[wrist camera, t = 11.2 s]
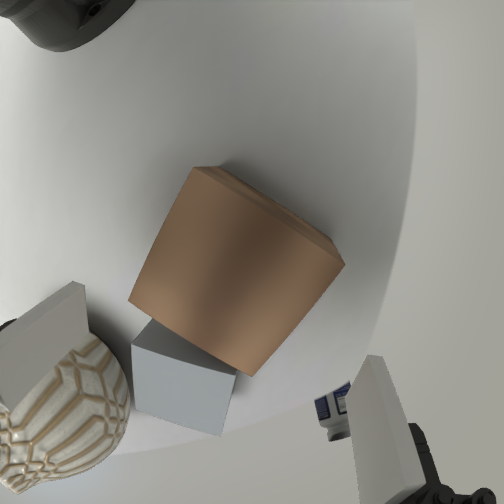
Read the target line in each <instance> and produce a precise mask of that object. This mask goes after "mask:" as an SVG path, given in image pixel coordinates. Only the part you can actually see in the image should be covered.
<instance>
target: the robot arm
mask: <svg viewBox="0 0 504 504" xmlns="http://www.w3.org/2000/svg"><path fill="white" fill-rule="evenodd" d="M134 1H135V0H0V16H2V17H5V18H8V19H10V20H11V21H12V22H13V23H14V24H15V25H16V26H17V27H18V28H19V29H20V30H21V31H22V32H23V33H24V34H25V35H26V36H27V37H28V38H29V39H30V40H31V41H32V42H33V43H34V44H35V45H37V46H39V47H41V48H44V49H47V50H50V51H54V52H63V51H68V50H71V49H74V48H77V47H79V46H81V45H83V44H85V43H87V42H88V41H90V40H92V39H93V38H95V37H96V36H98V35H99V34H100V33H102V32H103V31H104V30H106V29H107V28H108V27H109V26H110V25H112V24H113V23H114V22H115V21H116V20H117V19H118V18H119V17H120V16H121V15H122V14H123V13H124V12H125V11H126V10H127V9H128V8H129V7H130V6H131V5H132V3H133V2H134ZM88 333H89V328H88V319H87V309H86V298H85V285H83V284H80V283H77V282H74V281H72V282H71V283H69V284H68V285H66V286H65V287H63V288H61V289H60V290H58V291H57V292H55V293H54V294H52V295H51V296H50V297H48V298H47V299H45V300H44V301H42V302H41V303H39V304H38V305H36V306H35V307H34V308H32V309H31V310H29V311H28V312H26V313H25V314H24V315H22V316H21V317H19V318H18V319H13V320H10V321H8V322H6V323H4V324H3V325H1V326H0V405H1V406H2V407H4V408H5V409H6V410H7V411H8V412H10V413H11V412H12V411H13V410H14V408H15V407H16V406H17V405H18V404H19V403H20V402H21V401H22V400H23V399H24V398H25V397H26V395H27V394H28V393H29V392H30V391H31V390H32V389H33V388H34V387H35V386H36V385H37V384H38V383H39V382H40V381H41V380H42V379H43V378H44V377H45V376H46V374H47V373H48V372H49V371H50V370H51V369H52V368H53V367H54V366H55V365H56V364H57V363H58V362H59V361H60V360H61V359H62V358H63V357H64V356H65V355H66V354H67V353H68V352H69V351H70V350H71V349H72V348H73V347H74V346H75V345H76V344H77V343H78V342H80V341H81V340H82V339H83V338H84V337H85V336H86V335H87V334H88ZM345 402H346V407H347V413H348V419H349V425H350V431H351V438H352V444H353V451H354V458H355V466H356V473H357V481H358V490H359V499H360V504H496V497H495V495H494V493H493V492H492V491H491V490H490V489H488V488H480V489H478V490H477V491H475V492H474V493H473V494H472V495H460V494H455V493H454V491H453V490H452V489H451V488H450V487H449V486H447V485H443V484H441V482H440V480H439V477H438V473H437V471H436V467H435V464H434V461H433V458H432V455H431V453H430V449H429V446H428V445H427V441H426V438H425V435H424V433H423V431H422V430H421V429H420V427H419V426H418V425H417V424H416V423H407V420H406V417H405V414H404V411H403V408H402V406H401V403H400V400H399V397H398V395H397V392H396V389H395V387H394V384H393V382H392V379H391V377H390V374H389V371H388V369H387V366H386V364H385V362H384V359H383V357H381V356H374V355H367V357H366V359H365V361H364V363H363V365H362V367H361V369H360V371H359V373H358V375H357V377H356V378H355V380H354V382H353V384H352V386H351V388H350V389H349V391H348V393H347V395H346V397H345Z"/></svg>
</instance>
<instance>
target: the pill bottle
mask: <svg viewBox="0 0 504 504" xmlns="http://www.w3.org/2000/svg"><path fill="white" fill-rule="evenodd" d="M350 388H351V384H350V380H349V381H348V382H347V383H345V384H344V385H343V386H341V387H340V388H338V389H336V390H334V391H332V392H330V393H328V394H326V395H324V396H322V397H320V398H318V399H315V400H314V403H315V407H316V411H317V415H318V420H319V423H320V426H321V427H324V428H327V429H328V432H327V436H328V441H329V442H332V441H337V440H341V439H344V438H347V437H350V436H351V431H350V425H349V419H348V413H347V407H346V402H345V397H346V395H347V393H348V391H349V389H350Z"/></svg>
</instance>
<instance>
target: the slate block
mask: <svg viewBox="0 0 504 504" xmlns="http://www.w3.org/2000/svg"><path fill="white" fill-rule="evenodd" d="M131 355H132V372H133V386H134V397H135V407H136V410H138V411H141V412H144V413H146V414H149V415H152V416H154V417H157V418H160V419H163V420H166V421H169V422H172V423H175V424H178V425H181V426H184V427H188V428H191V429H195V430H198V431H202V432H205V433H209V434H213V435H217V436H221V433H222V429H223V426H224V422H225V418H226V414H227V410H228V407H229V403H230V399H231V395H232V391H233V387H234V383H235V379H236V375H237V371H238V369H236V368H234V367H232V366H231V365H229V364H227V363H225V362H223V361H222V360H220V359H218V358H216V357H215V356H213V355H211V354H209V353H208V352H206V351H204V350H203V349H201V348H199V347H198V346H196V345H194V344H193V343H191V342H189V341H188V340H186V339H185V338H183V337H181V336H180V335H178V334H177V333H175V332H173V331H172V330H170V329H169V328H167V327H166V326H164V325H163V324H161V323H160V322H158V321H156V320H155V319H153V318H152V320H151V321H150V322H149V323H148V324H147V325H146V327H145V328H144V329H143V330H142V332H141V333H140V334H139V335H138V336H137V338H136V339H135V340H134V341H133V342H132V344H131Z"/></svg>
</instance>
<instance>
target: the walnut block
mask: <svg viewBox="0 0 504 504" xmlns="http://www.w3.org/2000/svg"><path fill="white" fill-rule="evenodd" d="M344 266H345V263H344V261H343V260H342V258H341V256H340V254H339V252H338V251H337V249H336V247H335V245H334V243H333V242H332V240H331V239H330V238H329V237H327V236H326V235H324V234H323V233H321V232H320V231H318V230H317V229H315V228H314V227H312V226H311V225H309V224H308V223H306V222H305V221H303V220H302V219H300V218H299V217H297V216H296V215H294V214H293V213H291V212H290V211H288V210H287V209H285V208H284V207H282V206H281V205H279V204H278V203H276V202H274V201H273V200H271V199H270V198H268V197H267V196H265V195H264V194H262V193H260V192H259V191H257V190H256V189H254V188H252V187H251V186H249V185H248V184H246V183H244V182H243V181H241V180H240V179H238V178H236V177H235V176H233V175H231V174H230V173H228V172H226V171H225V170H223V169H221V168H220V167H218V166H213V167H193V169H192V171H191V172H190V174H189V176H188V178H187V180H186V181H185V183H184V185H183V187H182V189H181V191H180V192H179V194H178V196H177V198H176V200H175V202H174V204H173V206H172V208H171V209H170V211H169V213H168V215H167V217H166V219H165V221H164V223H163V225H162V227H161V229H160V231H159V233H158V235H157V237H156V239H155V241H154V244H153V246H152V248H151V250H150V252H149V254H148V256H147V258H146V260H145V263H144V265H143V267H142V269H141V271H140V274H139V276H138V278H137V280H136V283H135V285H134V287H133V290H132V292H131V294H130V297H129V299H128V301H129V302H130V303H132V304H133V305H135V306H136V307H137V308H139V309H140V310H142V311H143V312H145V313H146V314H148V315H149V316H151V317H152V318H153V319H155V320H156V321H158V322H160V323H161V324H163V325H164V326H166V327H167V328H169V329H170V330H172V331H173V332H175V333H177V334H178V335H180V336H181V337H183V338H185V339H186V340H188V341H189V342H191V343H193V344H194V345H196V346H198V347H199V348H201V349H203V350H204V351H206V352H208V353H209V354H211V355H213V356H215V357H216V358H218V359H220V360H222V361H223V362H225V363H227V364H229V365H231V366H232V367H234V368H236V369H238V370H240V371H242V372H243V373H245V374H247V375H249V376H251V377H252V376H253V375H254V374H255V373H256V372H257V371H258V370H259V369H260V368H261V367H262V365H263V364H264V363H265V362H266V361H267V360H268V359H269V358H270V356H271V355H272V354H273V353H274V352H275V351H276V350H277V349H278V347H279V346H280V345H281V344H282V343H283V342H284V340H285V339H286V338H287V337H288V336H289V335H290V333H291V332H292V331H293V330H294V329H295V328H296V326H297V325H298V324H299V323H300V322H301V320H302V319H303V318H304V317H305V316H306V314H307V313H308V312H309V311H310V309H311V308H312V307H313V306H314V304H315V303H316V302H317V301H318V299H319V298H320V297H321V296H322V294H323V293H324V292H325V291H326V289H327V288H328V287H329V286H330V284H331V283H332V282H333V280H334V279H335V278H336V276H337V275H338V274H339V272H340V271H341V270H342V269H343V267H344Z"/></svg>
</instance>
